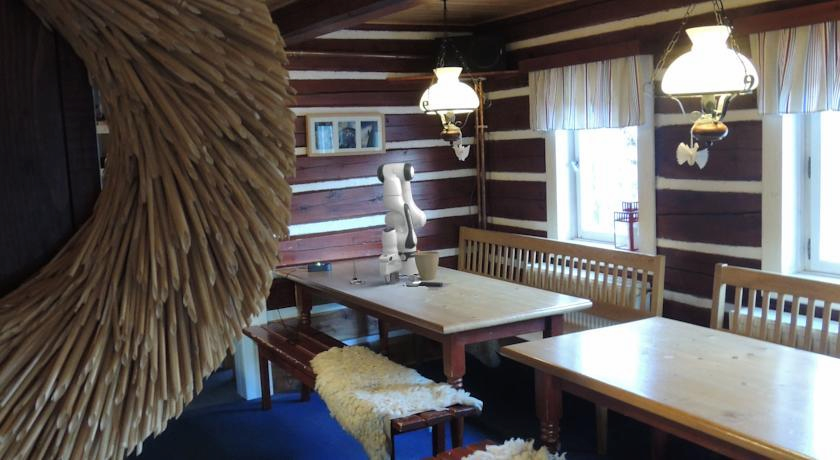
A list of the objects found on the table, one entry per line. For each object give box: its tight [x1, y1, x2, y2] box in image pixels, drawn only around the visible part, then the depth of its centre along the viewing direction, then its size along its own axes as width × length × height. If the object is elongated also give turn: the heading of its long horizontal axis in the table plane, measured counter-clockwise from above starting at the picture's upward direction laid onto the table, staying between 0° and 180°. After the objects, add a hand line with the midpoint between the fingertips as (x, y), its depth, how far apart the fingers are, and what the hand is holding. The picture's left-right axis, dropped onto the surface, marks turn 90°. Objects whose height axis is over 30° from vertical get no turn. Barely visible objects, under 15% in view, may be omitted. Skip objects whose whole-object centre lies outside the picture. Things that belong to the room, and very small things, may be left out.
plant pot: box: [414, 250, 440, 281], centre depth 457 cm, size 15×15×16 cm
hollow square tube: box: [384, 271, 400, 285], centre depth 450 cm, size 6×6×7 cm
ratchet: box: [405, 275, 444, 287], centre depth 436 cm, size 22×9×6 cm, turn 63°
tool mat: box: [427, 282, 453, 291], centre depth 437 cm, size 20×26×1 cm
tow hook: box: [352, 260, 358, 280], centre depth 460 cm, size 8×13×9 cm
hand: (392, 280), depth 450 cm, fingers closed on hollow square tube, 6 cm apart
